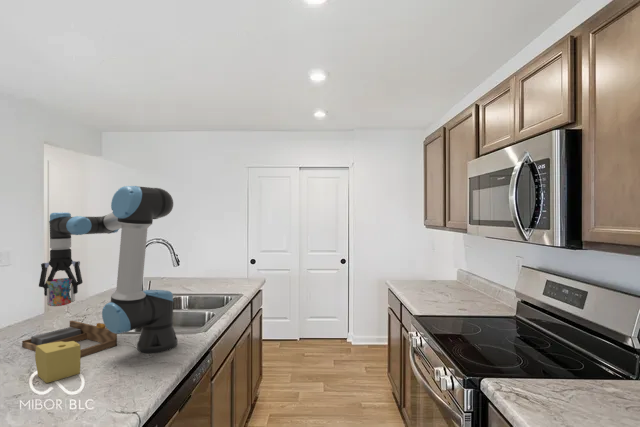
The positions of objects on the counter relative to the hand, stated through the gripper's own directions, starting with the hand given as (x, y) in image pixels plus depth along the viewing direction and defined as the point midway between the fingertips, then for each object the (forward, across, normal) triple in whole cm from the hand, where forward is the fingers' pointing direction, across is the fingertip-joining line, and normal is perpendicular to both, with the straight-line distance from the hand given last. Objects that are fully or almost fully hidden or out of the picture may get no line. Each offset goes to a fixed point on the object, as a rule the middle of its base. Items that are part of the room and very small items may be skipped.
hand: (61, 302), depth 158 cm
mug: (+1, 0, 0) cm, 1 cm away
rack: (+17, -6, +9) cm, 20 cm away
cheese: (+17, -12, +38) cm, 44 cm away
